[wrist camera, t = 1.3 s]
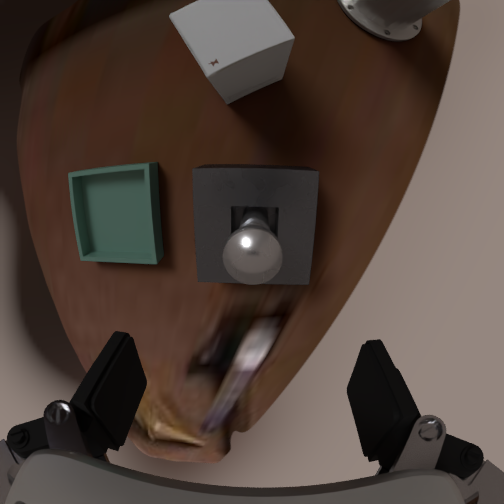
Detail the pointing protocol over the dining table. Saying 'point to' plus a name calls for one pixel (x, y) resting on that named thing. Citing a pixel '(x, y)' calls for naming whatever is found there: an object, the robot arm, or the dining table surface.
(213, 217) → the socket block
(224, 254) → the pin
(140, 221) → the tray
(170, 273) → the dining table surface
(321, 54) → the dining table surface
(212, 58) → the supplement box
